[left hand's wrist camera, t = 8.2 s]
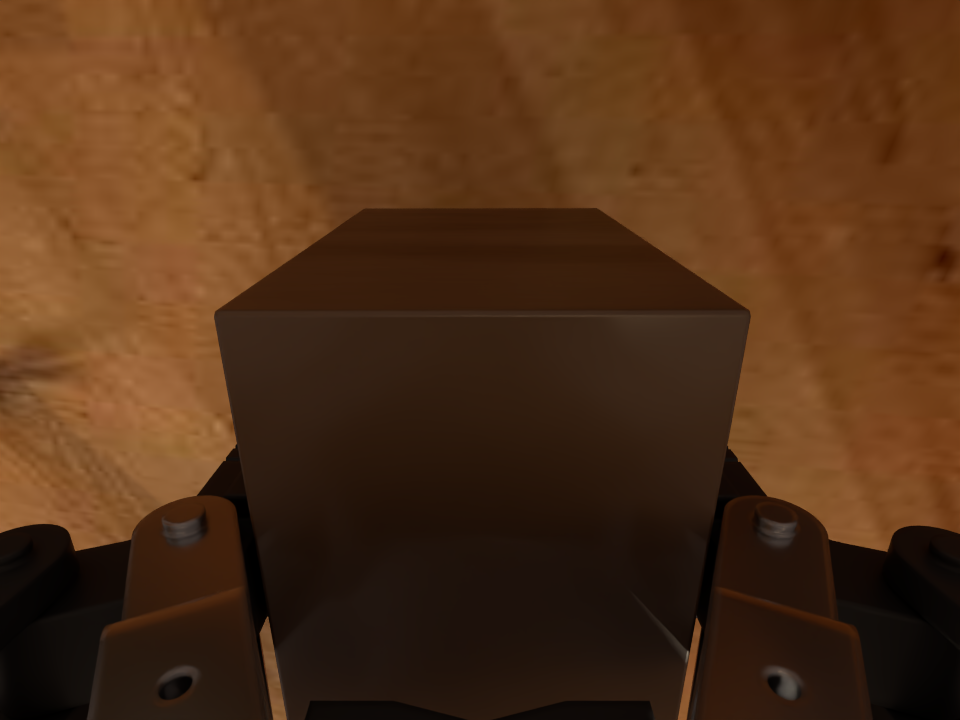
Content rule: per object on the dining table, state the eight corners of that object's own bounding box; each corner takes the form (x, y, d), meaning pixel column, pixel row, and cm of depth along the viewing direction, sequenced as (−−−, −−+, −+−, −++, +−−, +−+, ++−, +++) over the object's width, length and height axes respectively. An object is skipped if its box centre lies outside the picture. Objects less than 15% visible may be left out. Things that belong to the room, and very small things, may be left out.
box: (362, 208, 15) (209, 311, 6) (599, 207, 15) (755, 310, 6) (404, 769, 22) (361, 1140, 14) (557, 769, 22) (602, 1139, 14)
